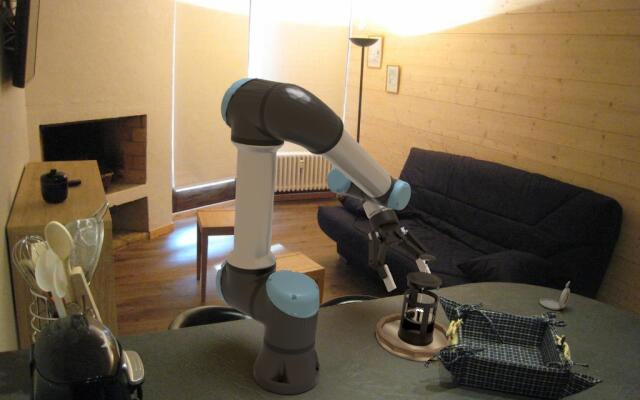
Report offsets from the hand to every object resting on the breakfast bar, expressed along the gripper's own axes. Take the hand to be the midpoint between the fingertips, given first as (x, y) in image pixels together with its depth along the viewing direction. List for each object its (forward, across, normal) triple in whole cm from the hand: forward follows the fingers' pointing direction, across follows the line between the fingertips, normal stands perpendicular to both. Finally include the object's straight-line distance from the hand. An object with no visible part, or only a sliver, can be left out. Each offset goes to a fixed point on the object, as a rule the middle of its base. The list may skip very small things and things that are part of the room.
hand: (411, 285), depth 140 cm
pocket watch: (+18, -56, -3) cm, 58 cm away
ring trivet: (+13, +1, -7) cm, 15 cm away
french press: (+12, 0, -6) cm, 14 cm away
